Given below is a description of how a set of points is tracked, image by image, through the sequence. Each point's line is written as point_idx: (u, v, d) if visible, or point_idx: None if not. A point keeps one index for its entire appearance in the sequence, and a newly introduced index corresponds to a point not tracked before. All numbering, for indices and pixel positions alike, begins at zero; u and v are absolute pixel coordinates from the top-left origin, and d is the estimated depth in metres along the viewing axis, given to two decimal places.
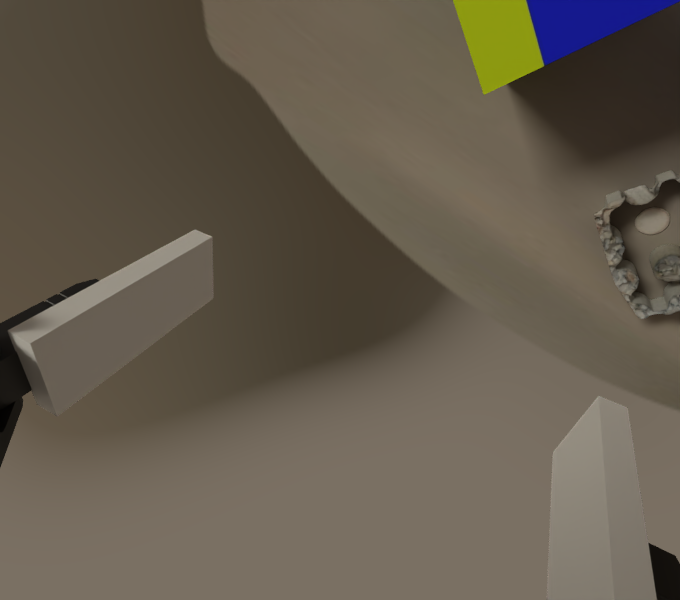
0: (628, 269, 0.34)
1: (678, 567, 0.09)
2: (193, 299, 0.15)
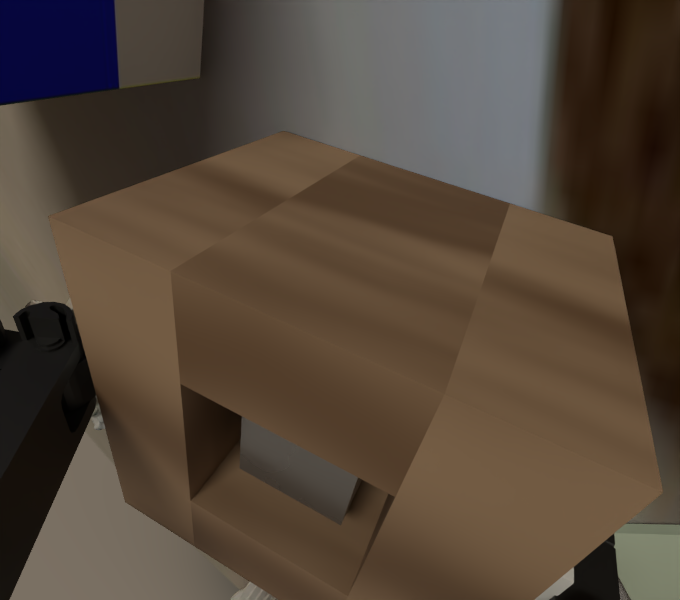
0: None
1: None
2: None
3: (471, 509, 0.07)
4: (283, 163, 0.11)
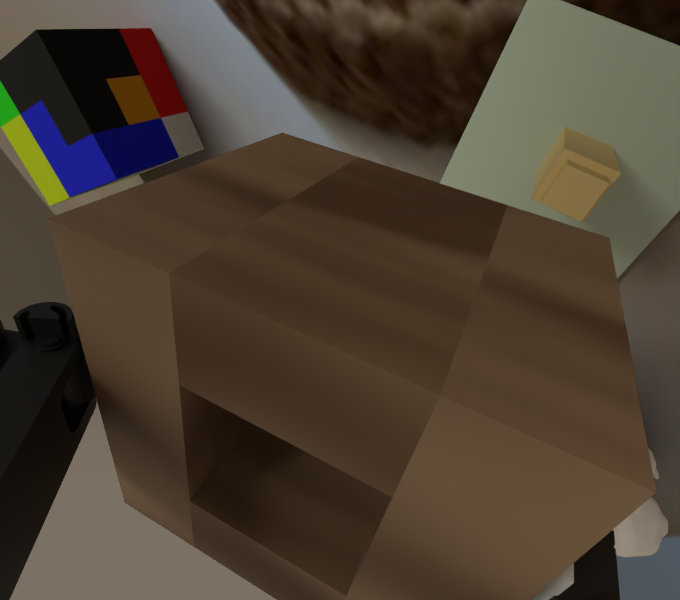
0: None
1: None
2: None
3: (467, 510, 0.07)
4: (281, 165, 0.11)
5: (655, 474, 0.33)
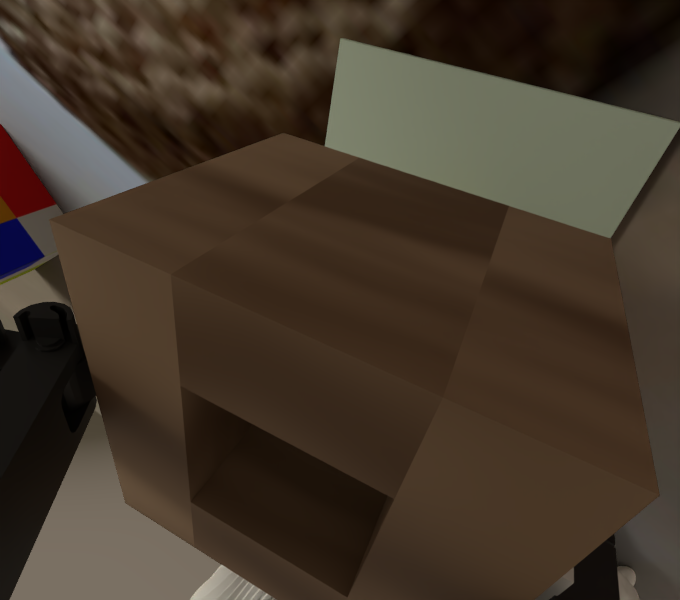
0: None
1: None
2: None
3: (469, 511, 0.07)
4: (283, 166, 0.11)
5: None
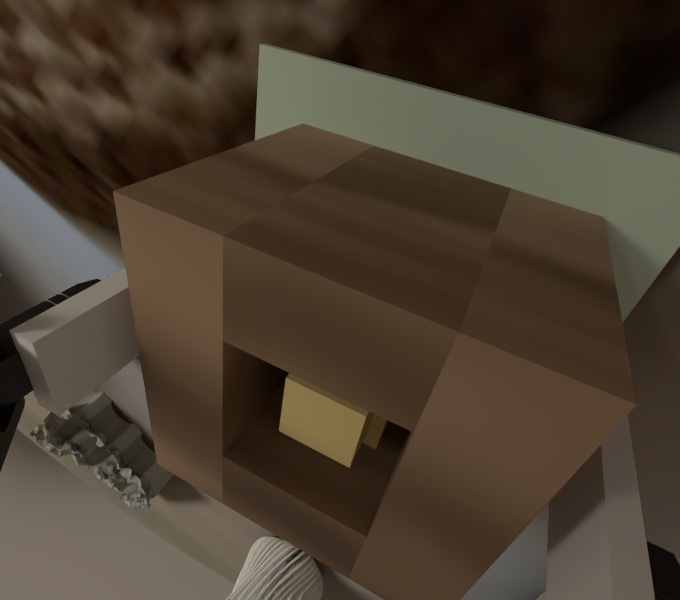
0: (102, 465, 0.36)
1: (677, 565, 0.09)
2: None
3: (479, 438, 0.08)
4: (305, 151, 0.12)
5: None
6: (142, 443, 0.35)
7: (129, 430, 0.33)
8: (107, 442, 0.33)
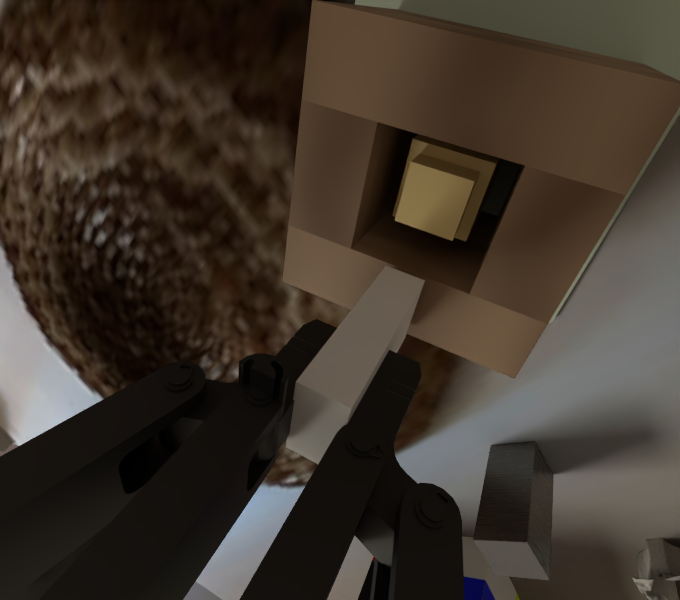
0: None
1: (418, 368, 0.12)
2: None
3: (365, 77, 0.13)
4: None
5: None
6: None
7: None
8: None
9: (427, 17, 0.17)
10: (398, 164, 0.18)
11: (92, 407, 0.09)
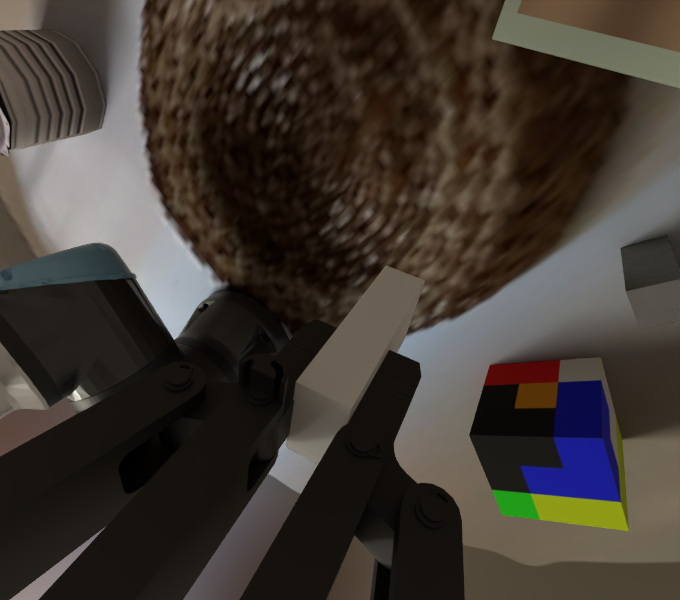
0: None
1: (418, 368, 0.12)
2: None
3: None
4: None
5: None
6: None
7: None
8: None
9: None
10: None
11: (92, 407, 0.09)
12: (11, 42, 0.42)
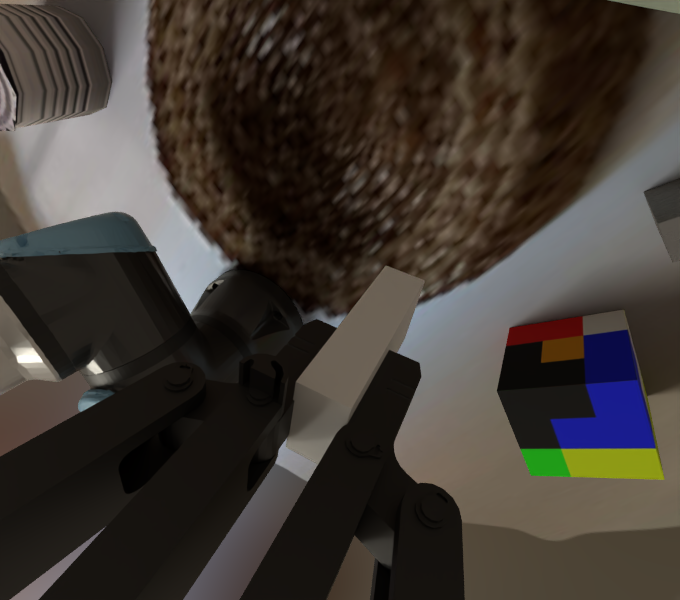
0: None
1: (418, 368, 0.12)
2: None
3: None
4: None
5: None
6: None
7: None
8: None
9: None
10: None
11: (92, 407, 0.09)
12: (17, 14, 0.42)
